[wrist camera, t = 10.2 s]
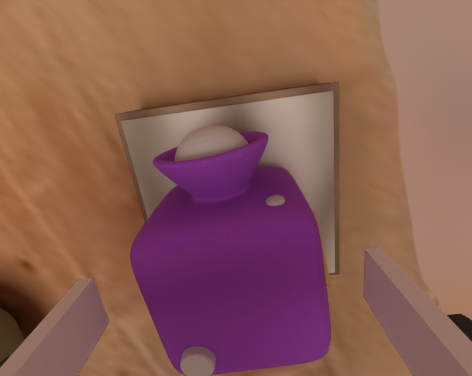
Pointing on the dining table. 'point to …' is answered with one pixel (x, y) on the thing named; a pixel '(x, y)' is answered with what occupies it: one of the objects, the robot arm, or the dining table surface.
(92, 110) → the dining table surface
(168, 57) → the dining table surface
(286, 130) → the stand
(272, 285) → the toy camera
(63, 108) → the dining table surface
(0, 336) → the cabbage
